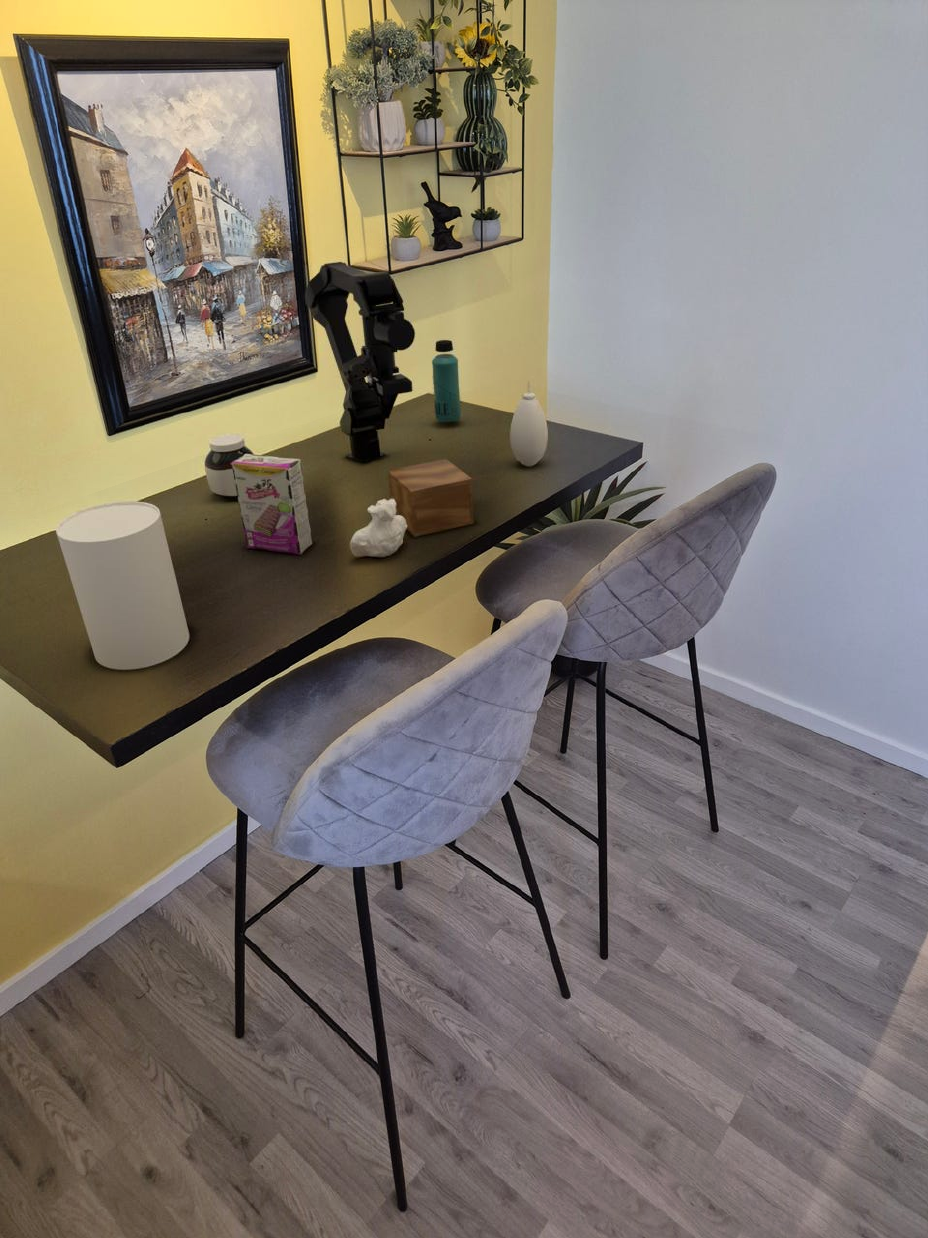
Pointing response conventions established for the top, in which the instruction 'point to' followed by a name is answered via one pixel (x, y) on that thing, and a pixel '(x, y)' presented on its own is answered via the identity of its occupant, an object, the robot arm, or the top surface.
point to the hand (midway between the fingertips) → (385, 418)
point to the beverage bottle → (446, 383)
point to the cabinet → (432, 496)
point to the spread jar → (224, 464)
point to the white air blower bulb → (528, 430)
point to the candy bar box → (272, 503)
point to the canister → (124, 583)
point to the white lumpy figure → (380, 531)
